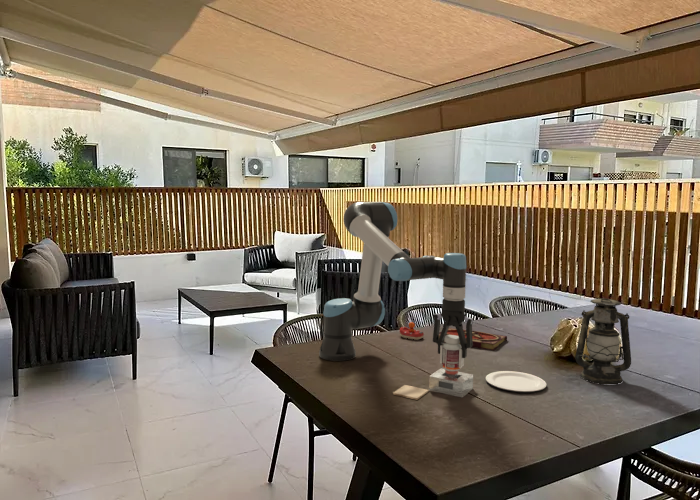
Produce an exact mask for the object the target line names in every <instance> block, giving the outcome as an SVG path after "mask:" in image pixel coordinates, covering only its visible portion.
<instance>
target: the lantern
mask: <svg viewBox="0 0 700 500" xmlns="http://www.w3.org/2000/svg"><path fill="white" fill-rule="evenodd" d="M590 303H592V304H595V306H594V308H593V309H592V310H588V311H586V310H584V309H583V310H582V312H581V316H582V321H581V325H580V326H581V327H580V331H579V337H578V341H577V345H576V346H577V347H576V351H575V352H576V353H575V356H574V358H575V362H576V364H578V365H579V366H580V367H581V368H583V369H582V371H581V372H580V374H579V377H580V376H581V377H582V378H584V379H585V380H584V379H583V380H584V381H586V380H588V381H591V382H594V383H593V384H595V383H599V384H598V385H601V384H618V383H621V382H622V381H623V378H622V376H621V374H622V373H621V372H624V371H626V370H628V369H630V367H631V364H632V356H631V354H632V353H631V344H630V343H631V341H630V331H629V328H630V327H629V319H630V315H629V314H628V313H627V312H626V314H624V313H622V312H619V311H618V308H617V306H621V305H623V304H622V302H621V301H618V300H615V299H610V298H594V299H592V300H590ZM591 320H592V321H593V322H594V327H591V328H590V329H589V325H590V321H591ZM617 323H619V325H620V332H621V333H620V332H618V330H617V329H615V324H617ZM620 334H621V341H620ZM621 344H622V345H621ZM585 345H586V346H585ZM620 345H621V346H620ZM585 347H586V350H587V353H588V354H586V353H584V350H585ZM617 357H618V359H617ZM586 358H587V359H588V360H591V361H592V360H593V361H592V362H588V361H586V360H584V359H586ZM619 361H623V363H622V364H617V365H616V364H615V365H612V364H611V363H618V362H619ZM581 377H580V378H581ZM582 378H581V379H582ZM588 381H587V382H588ZM591 382H590V383H591ZM623 382H624V381H623Z"/></svg>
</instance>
